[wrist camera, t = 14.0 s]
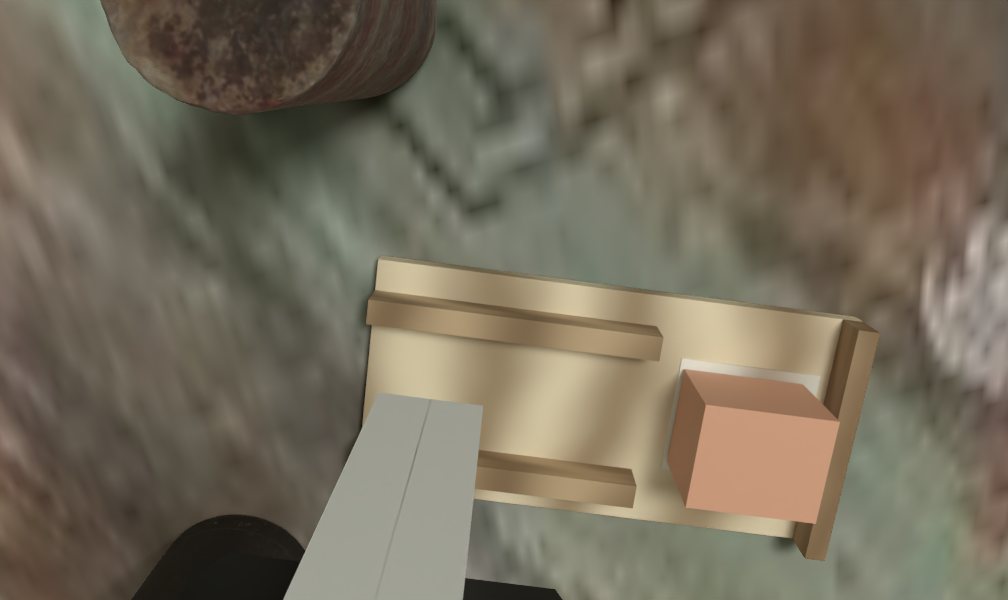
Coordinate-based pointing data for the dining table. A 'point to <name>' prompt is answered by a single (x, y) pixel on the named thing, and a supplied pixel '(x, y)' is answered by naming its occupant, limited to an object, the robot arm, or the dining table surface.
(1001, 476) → the dining table surface
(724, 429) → the block
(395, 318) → the chute
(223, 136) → the dining table surface
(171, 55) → the candle
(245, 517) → the container
